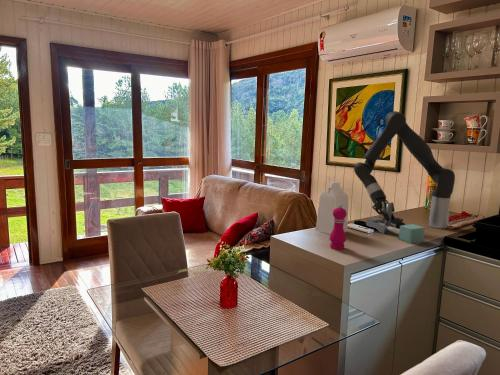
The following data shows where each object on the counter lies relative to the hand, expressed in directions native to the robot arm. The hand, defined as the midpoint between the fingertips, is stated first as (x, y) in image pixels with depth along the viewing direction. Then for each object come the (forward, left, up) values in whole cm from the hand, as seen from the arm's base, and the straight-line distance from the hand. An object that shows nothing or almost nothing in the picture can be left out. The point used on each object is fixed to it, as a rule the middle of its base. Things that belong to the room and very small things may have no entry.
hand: (391, 220), depth 190 cm
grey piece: (0, 0, -6) cm, 6 cm away
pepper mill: (+42, +9, -7) cm, 44 cm away
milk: (+27, -14, -7) cm, 31 cm away
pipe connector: (-11, -8, -7) cm, 16 cm away
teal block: (0, +13, -7) cm, 15 cm away
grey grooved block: (0, -7, -7) cm, 10 cm away
